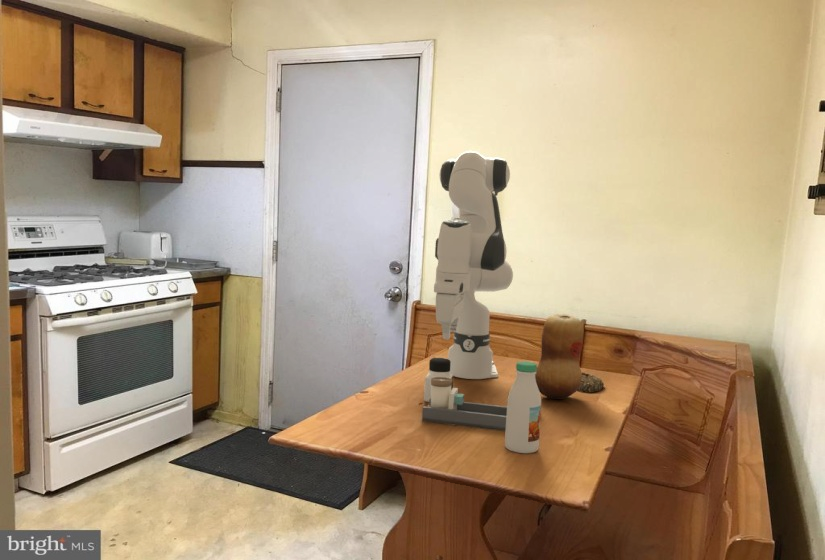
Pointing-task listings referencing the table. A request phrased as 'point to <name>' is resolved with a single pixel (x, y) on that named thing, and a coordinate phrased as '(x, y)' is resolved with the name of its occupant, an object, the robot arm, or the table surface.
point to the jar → (440, 392)
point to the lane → (468, 415)
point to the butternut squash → (560, 357)
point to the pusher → (455, 399)
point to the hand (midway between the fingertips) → (449, 335)
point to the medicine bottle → (437, 374)
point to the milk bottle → (523, 411)
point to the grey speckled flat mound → (590, 383)
